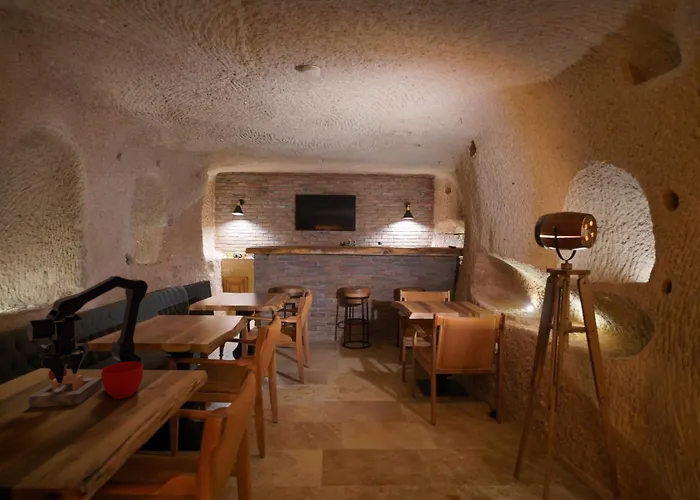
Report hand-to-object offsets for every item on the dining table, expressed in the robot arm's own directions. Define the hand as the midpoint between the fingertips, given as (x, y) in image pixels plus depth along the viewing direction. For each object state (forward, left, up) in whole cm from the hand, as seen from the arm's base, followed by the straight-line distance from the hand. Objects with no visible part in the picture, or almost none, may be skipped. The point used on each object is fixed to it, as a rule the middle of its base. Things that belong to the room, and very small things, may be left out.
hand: (67, 378), depth 141 cm
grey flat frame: (0, 0, -6) cm, 6 cm away
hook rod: (0, 0, -3) cm, 3 cm away
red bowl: (-20, 0, -7) cm, 21 cm away
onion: (+11, -15, -7) cm, 20 cm away
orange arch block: (0, 0, -5) cm, 5 cm away
